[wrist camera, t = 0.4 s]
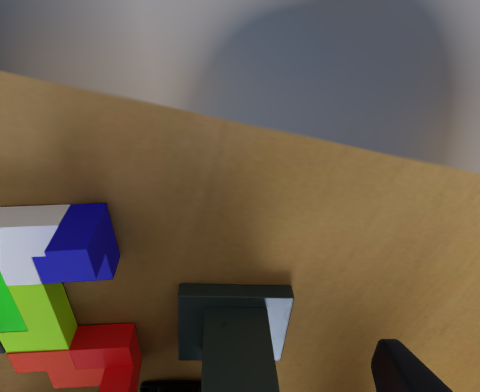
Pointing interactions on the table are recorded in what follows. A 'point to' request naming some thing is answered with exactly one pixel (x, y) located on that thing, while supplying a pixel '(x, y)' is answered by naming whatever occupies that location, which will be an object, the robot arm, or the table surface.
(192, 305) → the switch bracket
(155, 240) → the table surface
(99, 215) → the building blocks
